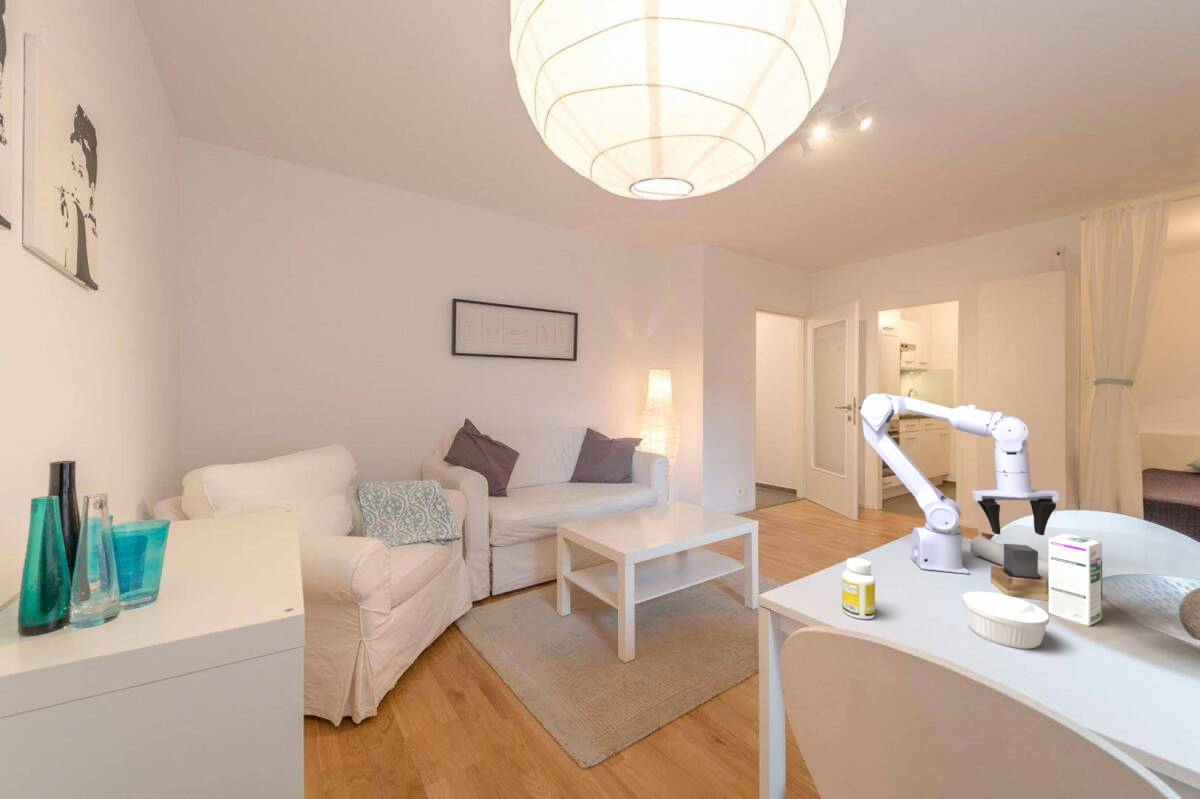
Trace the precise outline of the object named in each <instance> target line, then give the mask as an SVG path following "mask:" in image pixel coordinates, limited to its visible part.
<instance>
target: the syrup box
mask: <svg viewBox="0 0 1200 799" xmlns="http://www.w3.org/2000/svg"><path fill="white" fill-rule="evenodd" d="M1048 561H1049V575H1048V576H1049V601H1048V613H1049V615H1052V616H1055V617H1058V618H1061V619H1064V620H1067V621H1070V622H1072V623H1076V624H1080V625H1083V626H1086V627H1091V625H1094V624H1096V623H1098V622H1099V621H1101V620H1103V542H1102V541H1100V540H1096V539H1093V538H1089V537H1085V536H1079V535H1074V534H1066V533H1061V534H1060V535H1056V536H1053V537H1050V538H1048Z"/></svg>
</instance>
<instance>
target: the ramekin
mask: <svg viewBox="0 0 1200 799" xmlns="http://www.w3.org/2000/svg"><path fill="white" fill-rule="evenodd" d="M961 599H962V600H961V601H962V604H963V605H964V610H965V617H966V622H967V625H968V627H969V628H970V630H971V631H973V632H974V633H975V634H976V635H977V636H978V637H981V638H982V639H983V640H987V641H990V642H992V643H994V644H996V645H997V644H998V645H1001V646H1005V647H1008V648H1014V649H1023V650H1030V649H1035V648H1036V647H1038V646H1040V645H1041V644H1042V642H1043V639H1044V635H1045V632H1046V627H1047V626H1048V625H1049V623H1050V616H1049V615H1048V613H1047V612H1046V611H1045V609H1042V608H1041V607H1039V606H1038V605H1036V604H1033V603H1031V602H1029V601H1027V600H1024V599H1022V598H1019V597H1012V596H1008V595H1006V594H1004V593H998V592H991V591H980V590H979V591H976V590H975V591H968V592H966V593H963V595H962V598H961Z"/></svg>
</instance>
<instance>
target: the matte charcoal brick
mask: <svg viewBox="0 0 1200 799" xmlns="http://www.w3.org/2000/svg"><path fill="white" fill-rule="evenodd" d="M1003 545H1004V569H1003V572H1005V573H1006V574H1007V575H1009V576H1010V577H1016V578H1026V579H1036V580H1038V558H1039V551H1038V550H1036V549H1035V548H1033V547H1031V546H1029V545H1027V544H1026V545H1025V544H1013V543H1003Z"/></svg>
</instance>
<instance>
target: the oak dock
mask: <svg viewBox="0 0 1200 799" xmlns="http://www.w3.org/2000/svg"><path fill="white" fill-rule="evenodd" d="M1003 569H1004V567H1003V566H1001V565H990V583H991V584H992V585H993V584H994V585H993V586H995V587H996V588H997V589H998V588H999V589H998V590H1000V591H1001V592H1002V594H1003V595H1008V596H1011V597H1015V598H1020V599H1022V598H1023V599H1031V600H1041V601H1048V602H1049V580H1047V579H1045V578H1044V577H1042V576H1041V575H1039V574H1038V580H1036V579H1026V578H1016V577H1010V576H1009V575H1007V574H1006V573H1005V572H1003Z"/></svg>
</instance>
